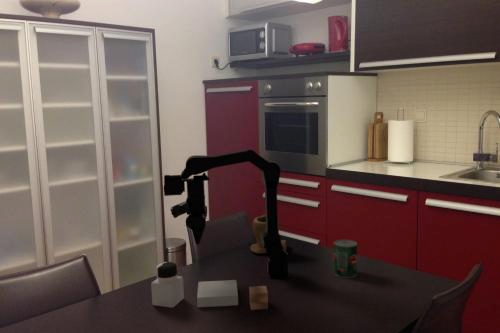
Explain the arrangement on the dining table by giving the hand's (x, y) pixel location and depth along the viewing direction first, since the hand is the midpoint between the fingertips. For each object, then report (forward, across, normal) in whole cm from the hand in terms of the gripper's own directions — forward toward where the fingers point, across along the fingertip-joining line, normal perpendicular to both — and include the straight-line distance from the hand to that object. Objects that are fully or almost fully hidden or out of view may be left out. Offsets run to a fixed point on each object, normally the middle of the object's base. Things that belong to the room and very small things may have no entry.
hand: (198, 239), depth 153 cm
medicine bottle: (+14, +16, -9) cm, 23 cm away
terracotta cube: (+14, +21, +18) cm, 31 cm away
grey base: (+14, +14, +6) cm, 21 cm away
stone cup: (+15, -27, +27) cm, 40 cm away
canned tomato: (+15, 0, +50) cm, 52 cm away
